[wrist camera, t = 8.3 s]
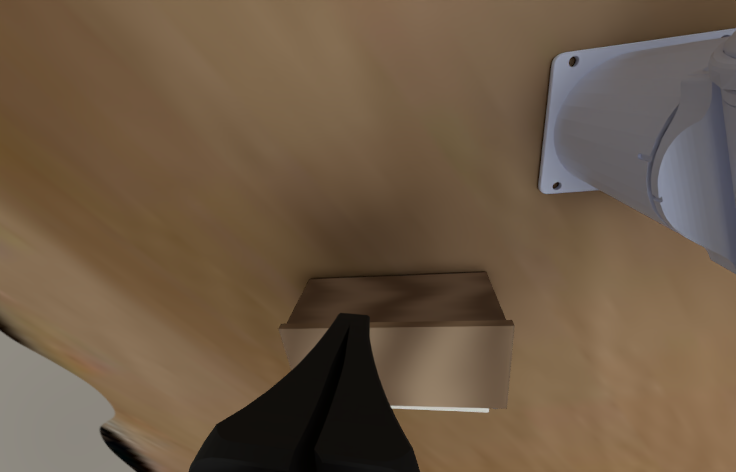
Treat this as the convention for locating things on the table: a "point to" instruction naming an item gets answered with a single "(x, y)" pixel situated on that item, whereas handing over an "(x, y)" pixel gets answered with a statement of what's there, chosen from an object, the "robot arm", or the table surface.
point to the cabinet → (417, 335)
